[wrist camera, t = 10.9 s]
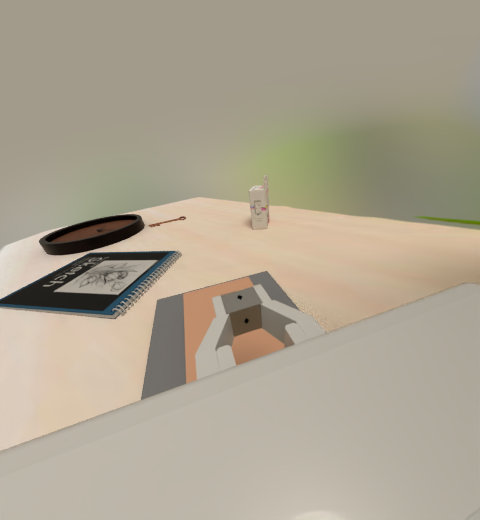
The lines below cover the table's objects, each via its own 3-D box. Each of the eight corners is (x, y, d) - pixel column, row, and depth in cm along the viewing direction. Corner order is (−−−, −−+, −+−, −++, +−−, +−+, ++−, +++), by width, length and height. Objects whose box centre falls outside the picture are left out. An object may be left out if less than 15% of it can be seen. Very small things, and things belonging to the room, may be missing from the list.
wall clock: (41, 232, 68) (129, 211, 86) (47, 241, 70) (132, 219, 88) (35, 254, 47) (152, 220, 65) (45, 267, 49) (156, 231, 67)
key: (149, 230, 70) (187, 221, 75) (149, 228, 69) (187, 219, 74) (149, 225, 74) (185, 217, 79) (148, 223, 74) (184, 215, 79)
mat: (266, 273, 34) (266, 271, 34) (370, 400, 16) (372, 397, 16) (158, 302, 30) (157, 300, 30) (125, 519, 12) (121, 517, 11)
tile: (291, 366, 18) (249, 291, 30) (293, 348, 17) (248, 276, 28) (194, 404, 16) (188, 308, 27) (186, 387, 15) (183, 293, 26)
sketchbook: (92, 256, 53) (88, 250, 52) (184, 256, 46) (182, 249, 45) (-7, 309, 35) (-15, 301, 34) (121, 321, 28) (115, 312, 27)
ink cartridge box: (255, 221, 64) (252, 175, 56) (269, 220, 62) (268, 174, 55) (251, 229, 56) (247, 178, 49) (267, 229, 55) (265, 177, 48)
